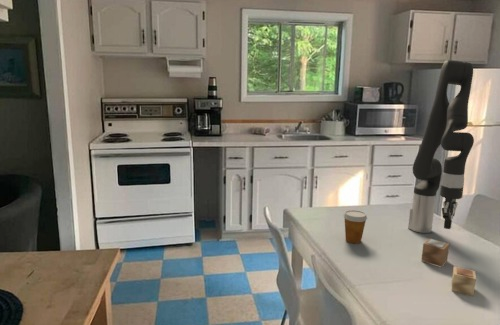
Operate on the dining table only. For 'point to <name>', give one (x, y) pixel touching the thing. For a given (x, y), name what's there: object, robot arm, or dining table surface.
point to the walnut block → (435, 252)
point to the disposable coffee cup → (354, 225)
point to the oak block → (463, 281)
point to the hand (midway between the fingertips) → (447, 228)
